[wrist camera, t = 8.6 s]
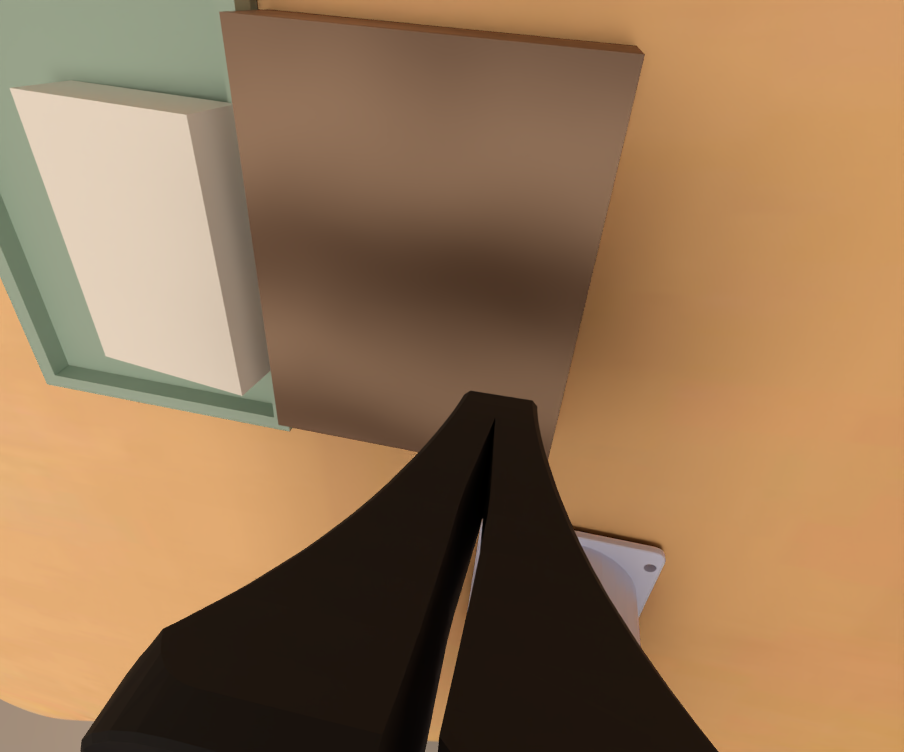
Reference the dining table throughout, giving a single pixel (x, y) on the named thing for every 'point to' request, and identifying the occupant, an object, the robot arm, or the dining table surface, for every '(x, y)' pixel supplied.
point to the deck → (421, 211)
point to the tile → (154, 225)
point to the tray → (26, 200)
